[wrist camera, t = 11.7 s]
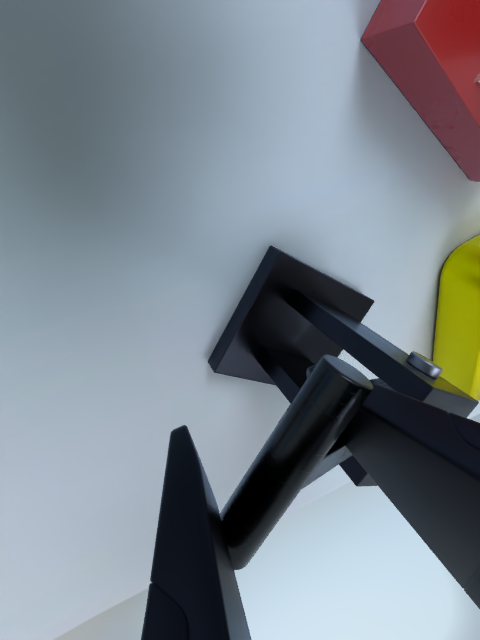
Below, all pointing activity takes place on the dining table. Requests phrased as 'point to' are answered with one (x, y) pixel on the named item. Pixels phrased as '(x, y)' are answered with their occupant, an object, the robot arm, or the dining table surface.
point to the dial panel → (435, 67)
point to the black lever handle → (295, 454)
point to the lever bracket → (319, 340)
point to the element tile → (460, 319)
